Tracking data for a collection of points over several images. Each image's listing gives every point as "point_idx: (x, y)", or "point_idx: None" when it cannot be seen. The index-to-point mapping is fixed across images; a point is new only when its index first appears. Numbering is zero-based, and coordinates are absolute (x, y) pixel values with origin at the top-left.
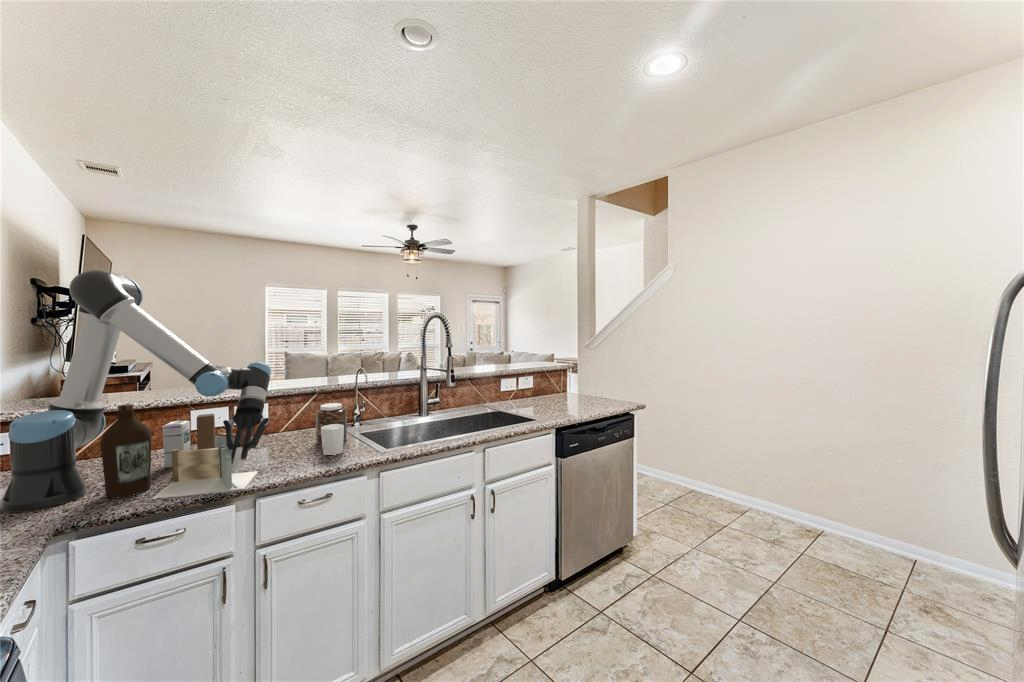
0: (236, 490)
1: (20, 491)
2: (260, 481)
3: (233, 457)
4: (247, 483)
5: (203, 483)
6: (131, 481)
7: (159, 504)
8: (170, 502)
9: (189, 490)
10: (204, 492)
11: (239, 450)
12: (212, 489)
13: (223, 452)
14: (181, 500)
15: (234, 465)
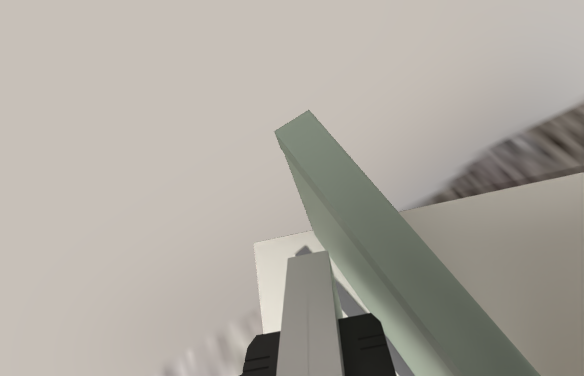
0: (291, 236)
1: None
2: (212, 371)
3: (354, 322)
4: (266, 315)
5: (579, 358)
6: None
7: (580, 103)
8: (543, 121)
9: (567, 239)
10: (444, 204)
11: (300, 352)
12: (428, 243)
13: (448, 277)
14: (505, 139)
15: (313, 260)
